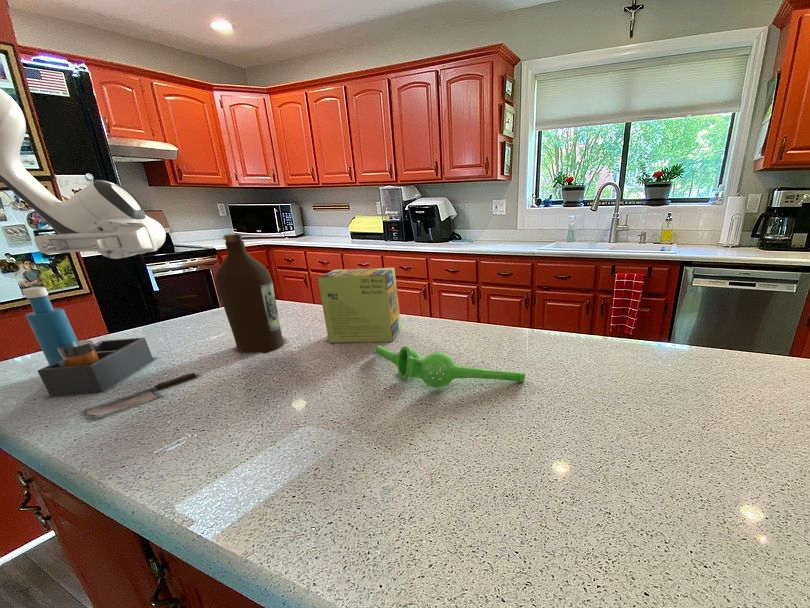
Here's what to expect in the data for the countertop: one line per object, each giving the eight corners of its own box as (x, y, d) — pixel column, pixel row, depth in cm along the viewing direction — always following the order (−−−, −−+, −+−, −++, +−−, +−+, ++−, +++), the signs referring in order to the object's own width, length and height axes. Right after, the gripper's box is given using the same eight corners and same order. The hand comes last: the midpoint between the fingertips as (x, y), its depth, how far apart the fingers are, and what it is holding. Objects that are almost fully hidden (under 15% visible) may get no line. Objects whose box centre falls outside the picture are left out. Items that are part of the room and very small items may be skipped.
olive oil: (228, 358, 86) (192, 238, 76) (244, 342, 95) (214, 233, 86) (280, 352, 88) (252, 235, 78) (290, 337, 97) (267, 231, 88)
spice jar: (76, 392, 71) (56, 350, 68) (76, 384, 74) (57, 344, 71) (109, 383, 74) (92, 343, 71) (108, 376, 77) (91, 338, 74)
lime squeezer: (525, 379, 71) (525, 346, 69) (497, 409, 62) (497, 372, 59) (380, 353, 86) (376, 325, 83) (339, 374, 76) (334, 343, 74)
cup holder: (154, 361, 85) (145, 337, 83) (103, 394, 71) (90, 366, 69) (111, 365, 84) (101, 340, 82) (51, 399, 70) (36, 370, 68)
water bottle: (55, 381, 77) (11, 292, 70) (56, 373, 81) (14, 288, 74) (90, 373, 80) (52, 287, 74) (90, 366, 84) (53, 284, 77)
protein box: (393, 341, 92) (385, 275, 86) (328, 343, 93) (315, 277, 87) (402, 328, 102) (395, 267, 96) (343, 329, 102) (332, 268, 96)
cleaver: (92, 418, 61) (82, 409, 64) (95, 424, 62) (85, 415, 64) (204, 377, 73) (192, 371, 76) (206, 382, 74) (194, 376, 76)
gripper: (59, 227, 92) (3, 232, 79) (155, 223, 95) (117, 227, 82) (70, 254, 95) (19, 263, 82) (164, 250, 97) (128, 258, 85)
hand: (69, 245), depth 82 cm, fingers open, 8 cm apart
